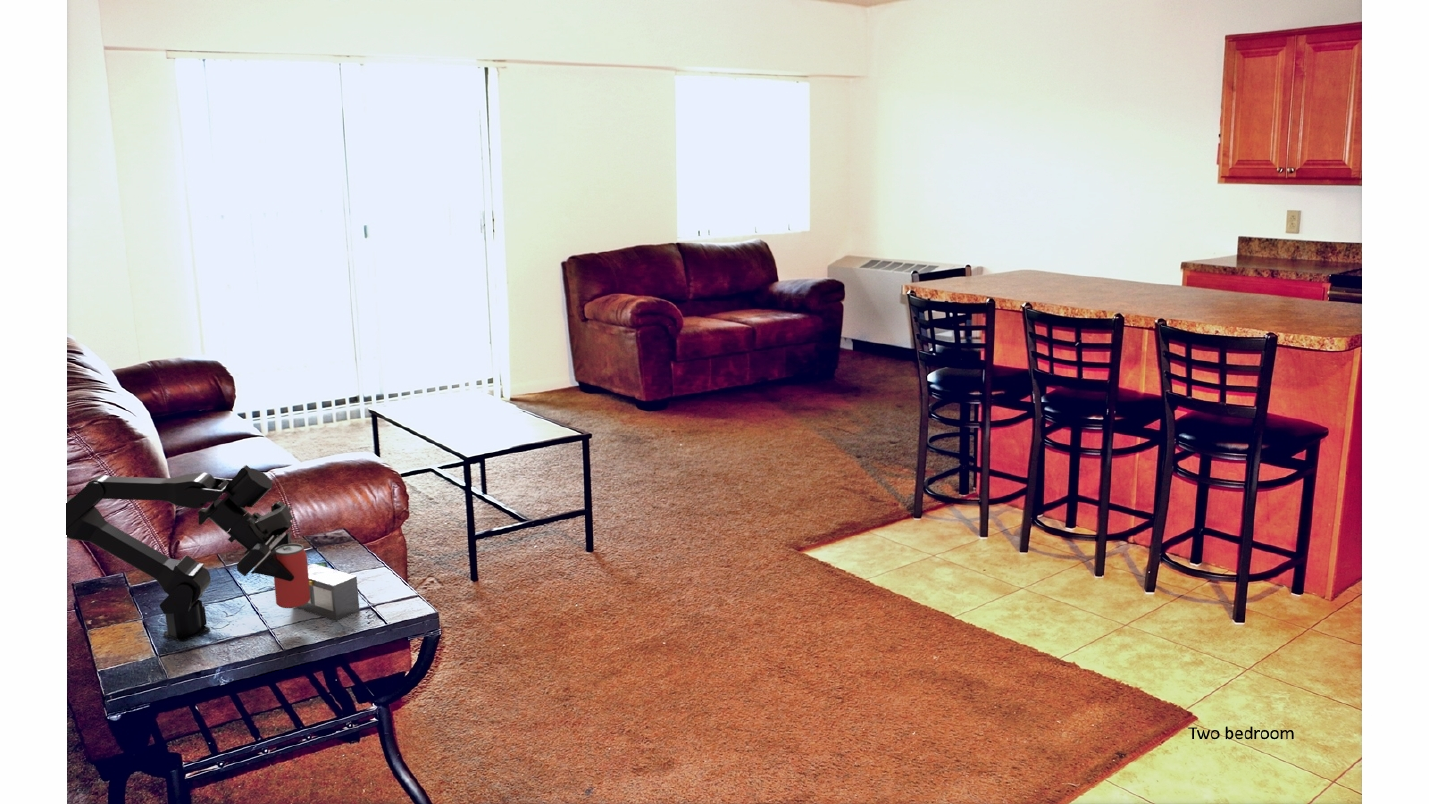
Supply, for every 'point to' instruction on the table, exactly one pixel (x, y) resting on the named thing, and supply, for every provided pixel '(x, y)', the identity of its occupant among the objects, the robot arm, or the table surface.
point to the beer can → (298, 588)
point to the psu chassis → (331, 593)
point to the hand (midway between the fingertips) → (297, 572)
